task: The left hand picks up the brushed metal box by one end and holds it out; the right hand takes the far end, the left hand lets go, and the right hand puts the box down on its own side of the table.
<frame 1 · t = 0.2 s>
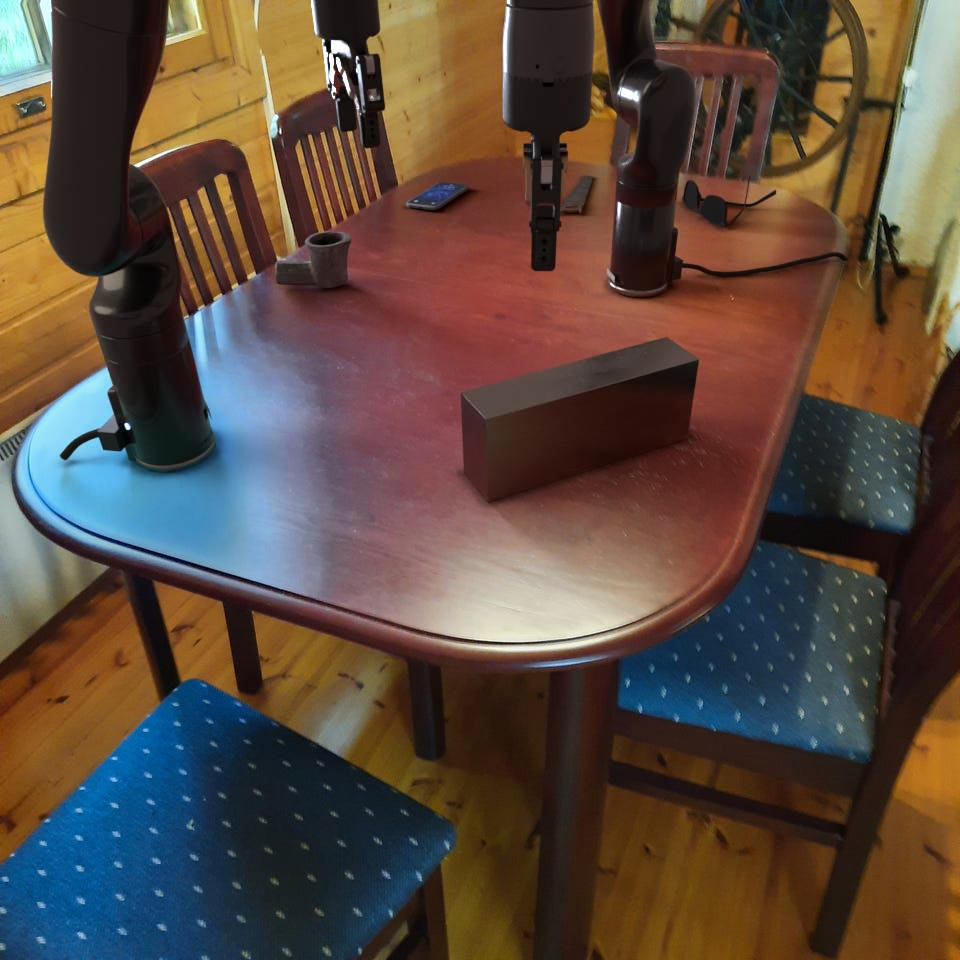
left hand: (542, 251, 81), 27 cm above the table, tool pointing down, fingers open, 8 cm apart
right hand: (359, 138, 106), 29 cm above the table, tool pointing down, fingers open, 8 cm apart
box: (578, 455, 101), on the table
smartphone: (438, 199, 175), on the table
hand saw: (581, 196, 174), on the table
necklace: (564, 382, 114), on the table
pipe: (317, 286, 141), on the table
sunglasses: (729, 212, 165), on the table
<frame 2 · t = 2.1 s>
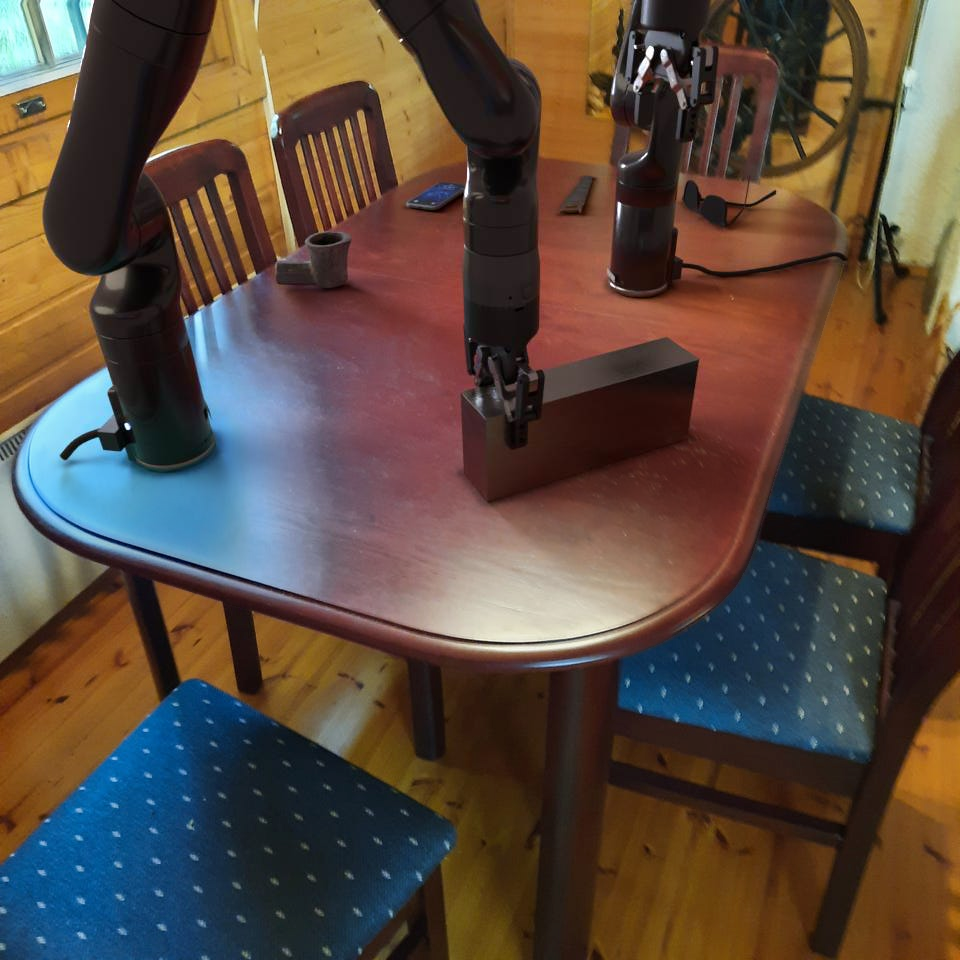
left hand: (502, 430, 93), 7 cm above the table, tool pointing down, fingers closed on box, 6 cm apart
right hand: (663, 133, 103), 29 cm above the table, tool pointing down, fingers open, 8 cm apart
box: (578, 455, 101), on the table, touching left hand
everything else where it was.
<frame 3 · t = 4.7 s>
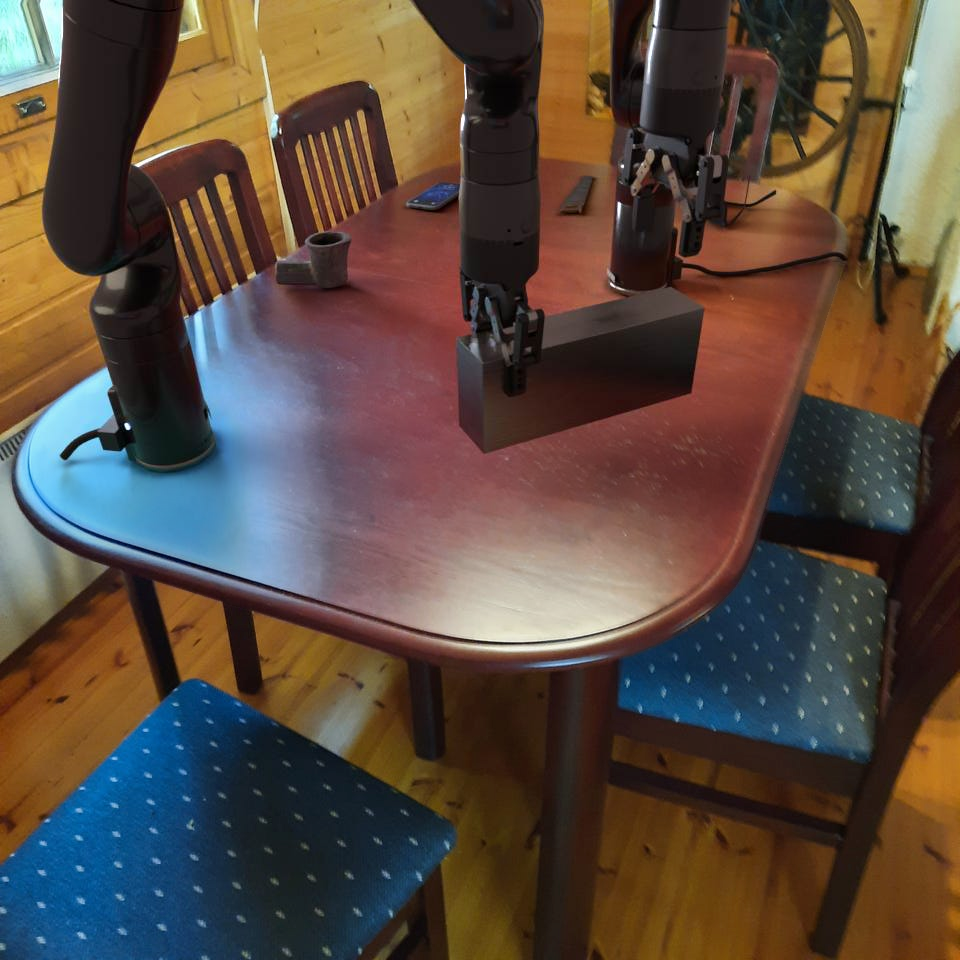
left hand: (499, 379, 89), 13 cm above the table, tool pointing down, fingers closed on box, 6 cm apart
right hand: (664, 242, 91), 23 cm above the table, tool pointing down, fingers open, 8 cm apart
box: (578, 409, 97), point 6 cm above the table, touching left hand
everything else where it was.
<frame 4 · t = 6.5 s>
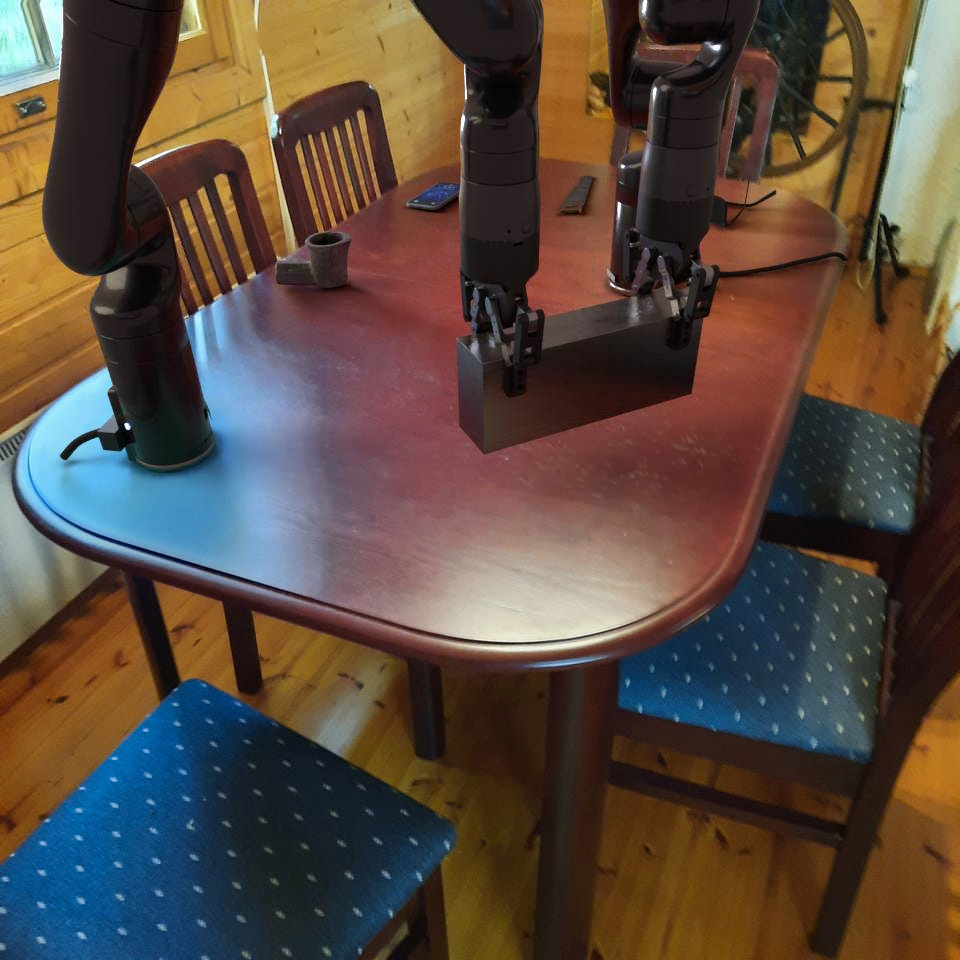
left hand: (500, 379, 89), 13 cm above the table, tool pointing down, fingers closed on box, 6 cm apart
right hand: (659, 335, 96), 13 cm above the table, tool pointing down, fingers closed on box, 6 cm apart
box: (578, 409, 97), point 6 cm above the table, touching right hand, left hand
everything else where it was.
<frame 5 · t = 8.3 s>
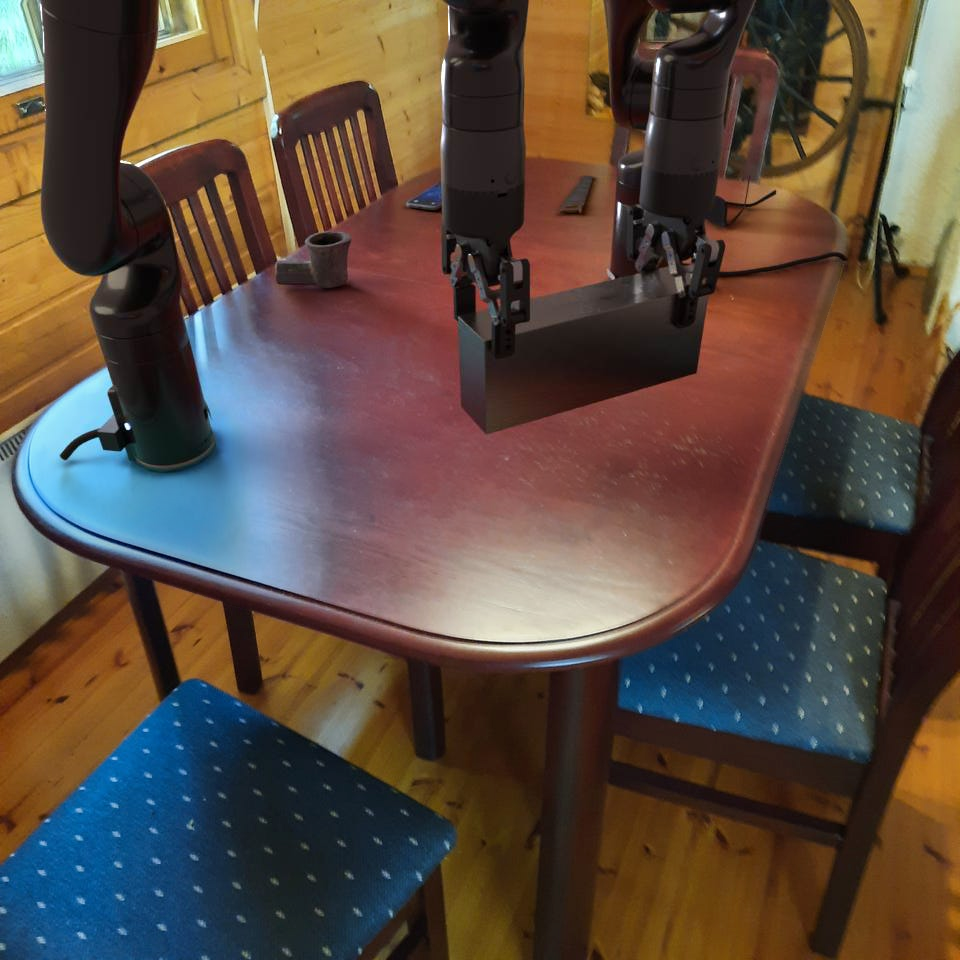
left hand: (483, 337, 86), 18 cm above the table, tool pointing down, fingers open, 8 cm apart
right hand: (664, 313, 95), 16 cm above the table, tool pointing down, fingers closed on box, 6 cm apart
box: (581, 389, 95), point 9 cm above the table, touching right hand
everything else where it was.
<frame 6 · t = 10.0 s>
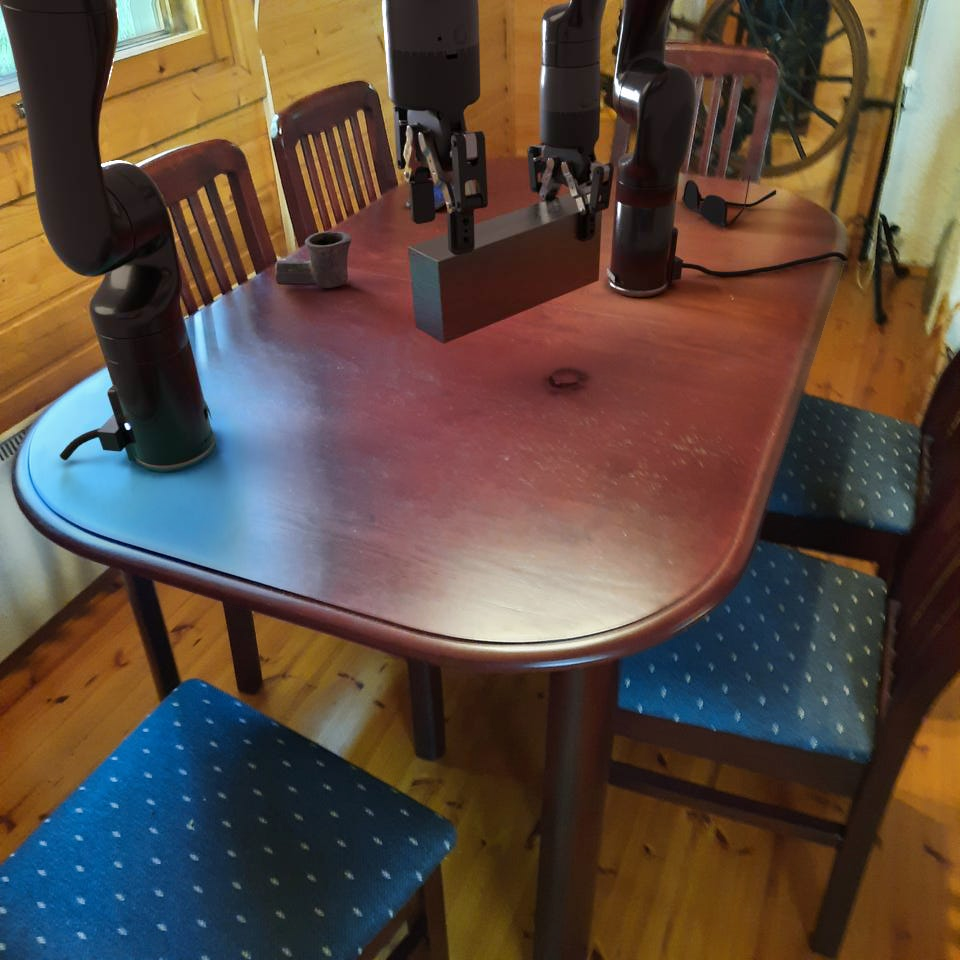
left hand: (442, 236, 78), 29 cm above the table, tool pointing down, fingers open, 8 cm apart
right hand: (567, 232, 115), 16 cm above the table, tool pointing down, fingers closed on box, 6 cm apart
box: (510, 303, 115), point 9 cm above the table, touching right hand
everything else where it was.
when the right hand's fingers open (8 cm above the table, at t = 13.9 s): box drops 1 cm, on the table.
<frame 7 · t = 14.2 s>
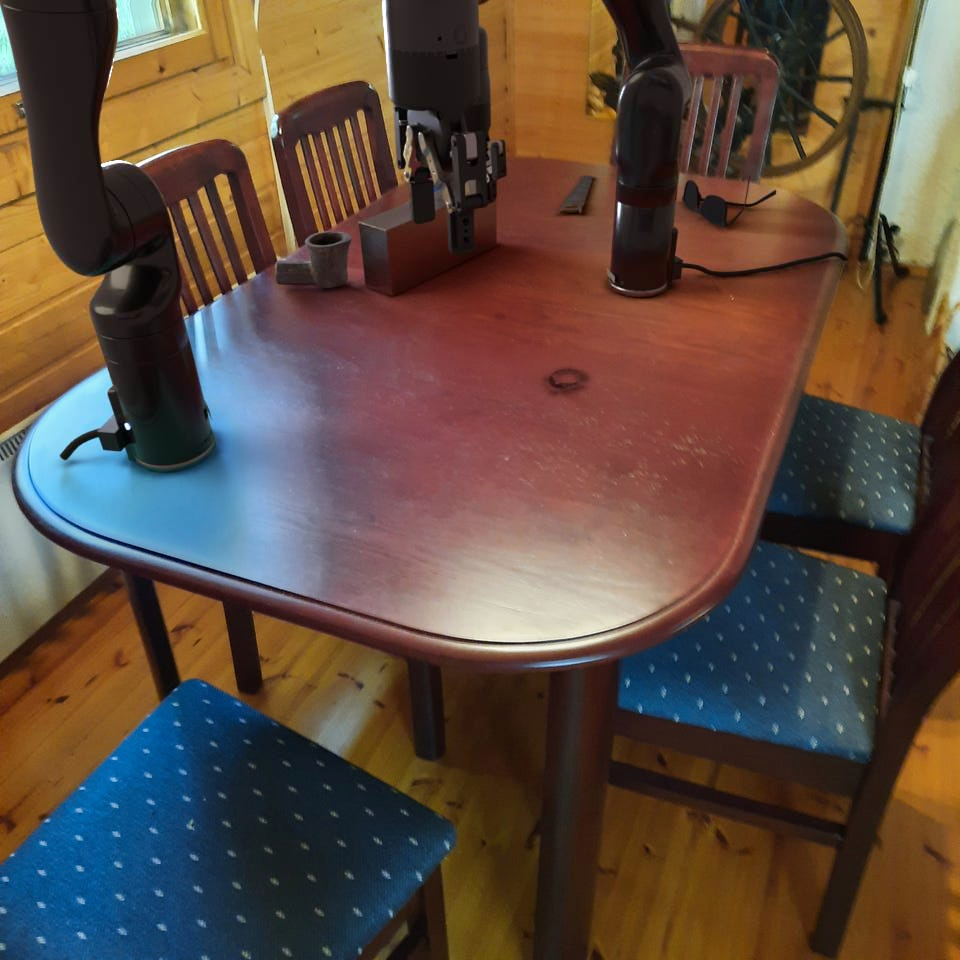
left hand: (442, 236, 78), 29 cm above the table, tool pointing down, fingers open, 8 cm apart
right hand: (470, 197, 148), 9 cm above the table, tool pointing down, fingers open, 8 cm apart
box: (434, 265, 147), on the table
everything else where it was.
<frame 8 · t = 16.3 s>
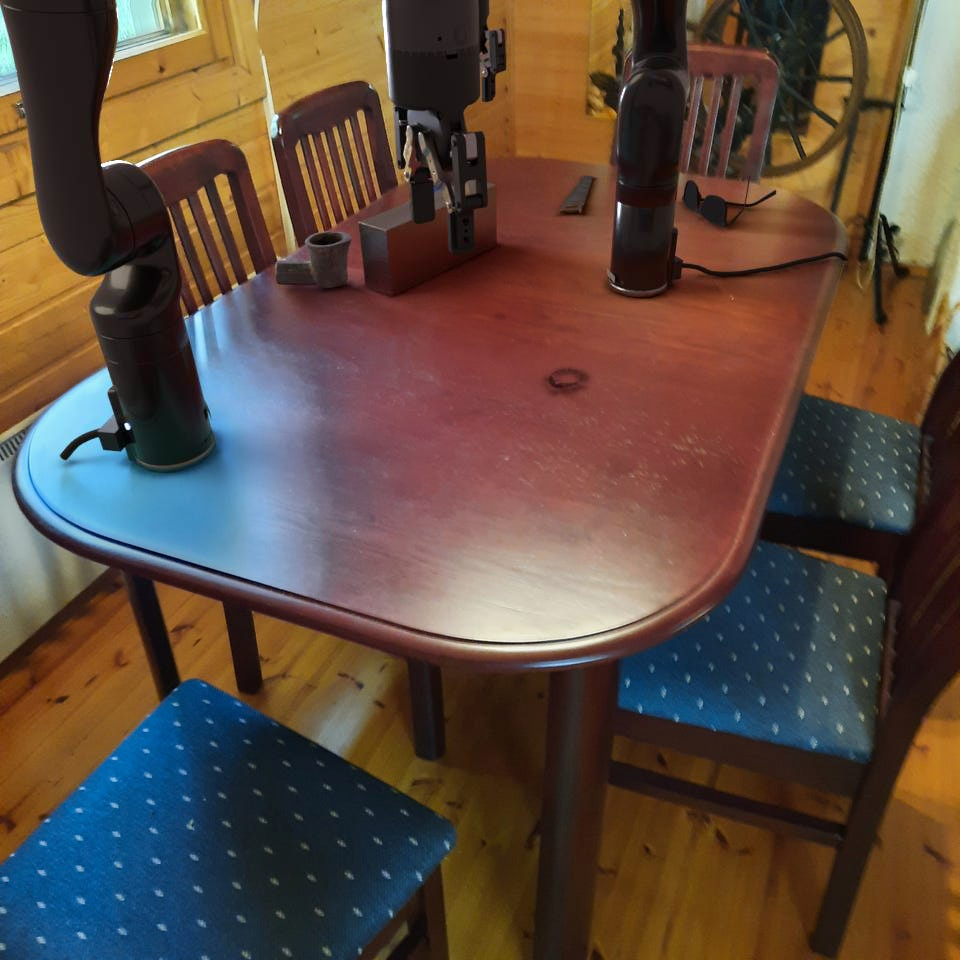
left hand: (442, 236, 78), 29 cm above the table, tool pointing down, fingers open, 8 cm apart
right hand: (467, 97, 138), 25 cm above the table, tool pointing down, fingers open, 8 cm apart
nothing on the table moved.
at the end: box inside the target area (10.2 cm from its centre), on the table; the left hand is holding nothing; the right hand is holding nothing; box at rest at the end (0.0 cm/s) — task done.
